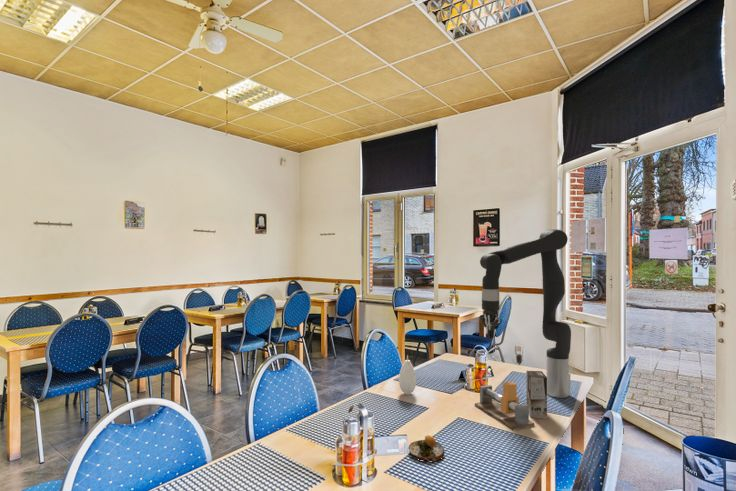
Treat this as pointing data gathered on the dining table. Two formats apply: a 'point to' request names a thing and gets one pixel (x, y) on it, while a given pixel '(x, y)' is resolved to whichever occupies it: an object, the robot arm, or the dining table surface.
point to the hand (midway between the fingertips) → (490, 338)
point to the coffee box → (537, 394)
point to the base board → (501, 415)
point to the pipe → (520, 410)
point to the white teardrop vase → (407, 378)
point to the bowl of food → (427, 449)
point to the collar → (509, 396)
